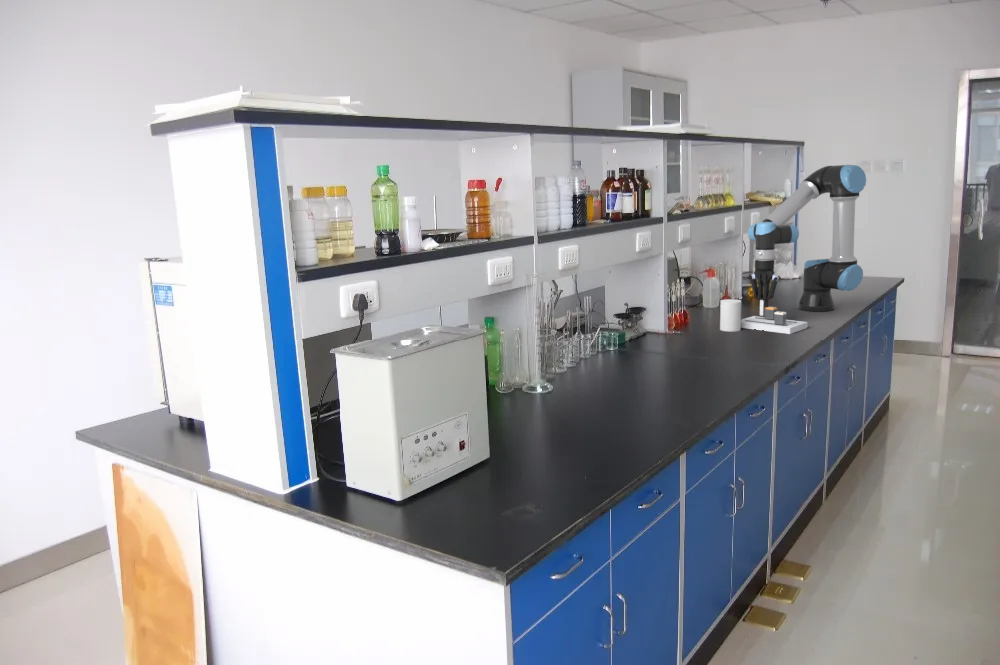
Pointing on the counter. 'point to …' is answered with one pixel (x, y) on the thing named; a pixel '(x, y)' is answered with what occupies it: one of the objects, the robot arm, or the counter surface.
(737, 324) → the cup
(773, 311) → the fader orange
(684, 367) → the counter surface
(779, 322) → the fader cream
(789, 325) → the panel
